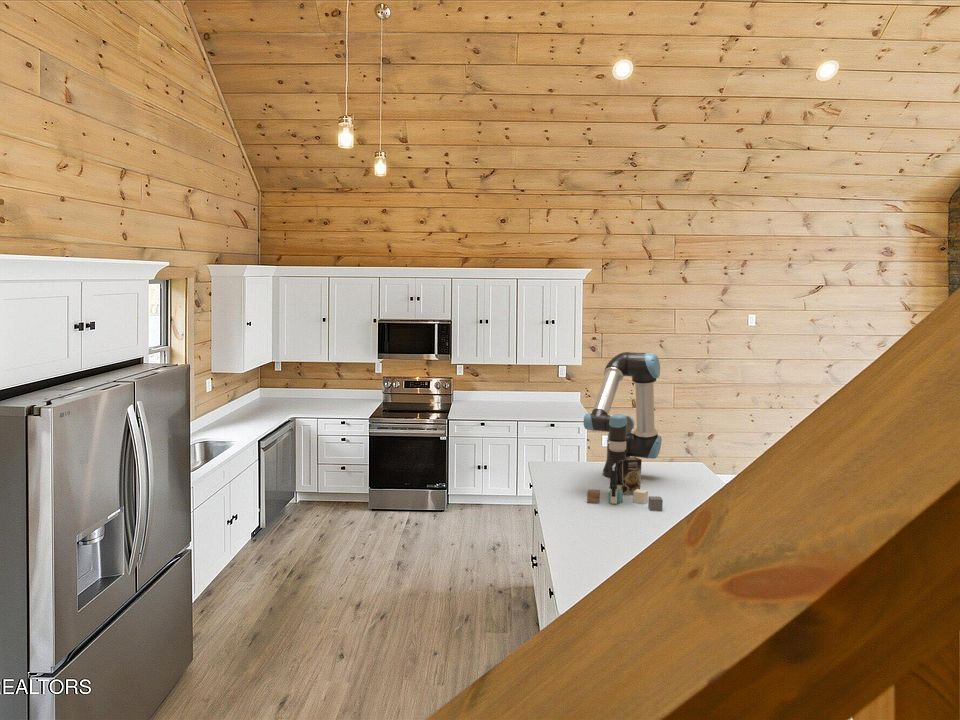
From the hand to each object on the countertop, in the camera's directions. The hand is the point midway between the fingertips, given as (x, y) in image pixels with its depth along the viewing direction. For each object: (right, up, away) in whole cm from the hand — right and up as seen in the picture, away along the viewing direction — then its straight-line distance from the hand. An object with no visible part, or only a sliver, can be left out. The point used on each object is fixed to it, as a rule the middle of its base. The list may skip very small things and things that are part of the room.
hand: (615, 501), depth 341 cm
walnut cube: (-10, 0, 0) cm, 10 cm away
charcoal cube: (+15, -2, -10) cm, 18 cm away
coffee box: (+9, +1, +17) cm, 19 cm away
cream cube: (+11, -1, +1) cm, 11 cm away
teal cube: (0, 0, 0) cm, 0 cm away
